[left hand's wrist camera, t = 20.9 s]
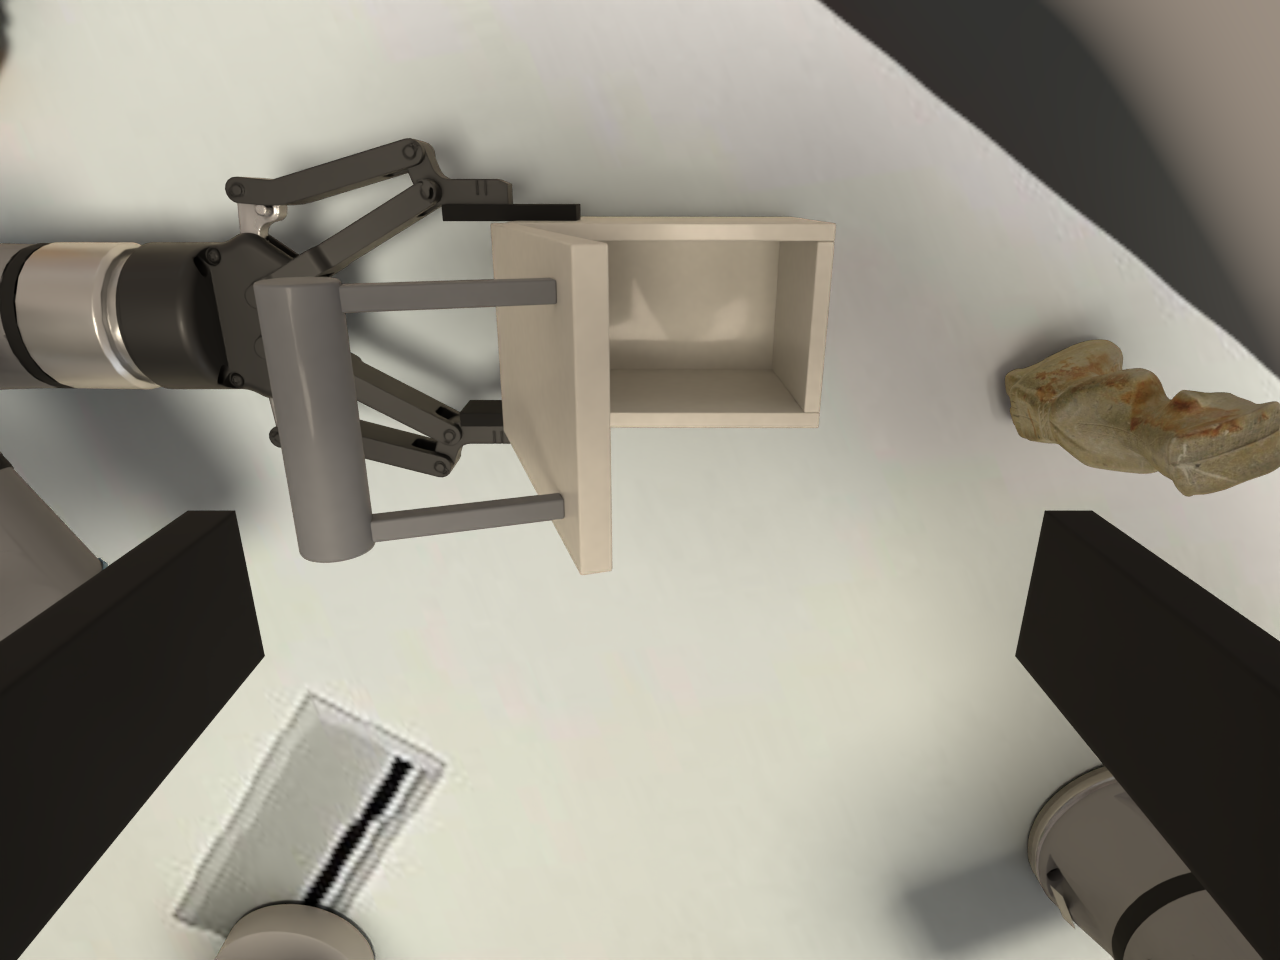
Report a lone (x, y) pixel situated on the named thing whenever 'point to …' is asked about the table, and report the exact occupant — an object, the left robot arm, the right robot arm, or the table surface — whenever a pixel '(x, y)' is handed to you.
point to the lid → (530, 386)
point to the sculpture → (1142, 421)
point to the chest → (714, 318)
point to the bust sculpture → (294, 936)
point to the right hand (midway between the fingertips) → (581, 317)
